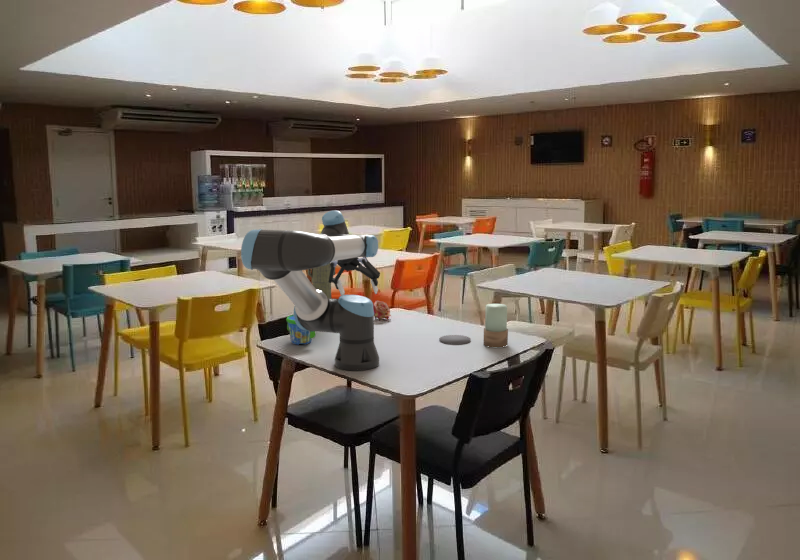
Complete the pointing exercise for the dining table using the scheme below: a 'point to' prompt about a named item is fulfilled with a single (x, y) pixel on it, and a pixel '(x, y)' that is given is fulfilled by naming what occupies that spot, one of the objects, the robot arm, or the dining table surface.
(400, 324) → the dining table surface
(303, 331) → the snack cup
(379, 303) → the flower
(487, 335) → the brown wooden block
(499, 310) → the cap
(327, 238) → the robot arm
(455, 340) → the mat
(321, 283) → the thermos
